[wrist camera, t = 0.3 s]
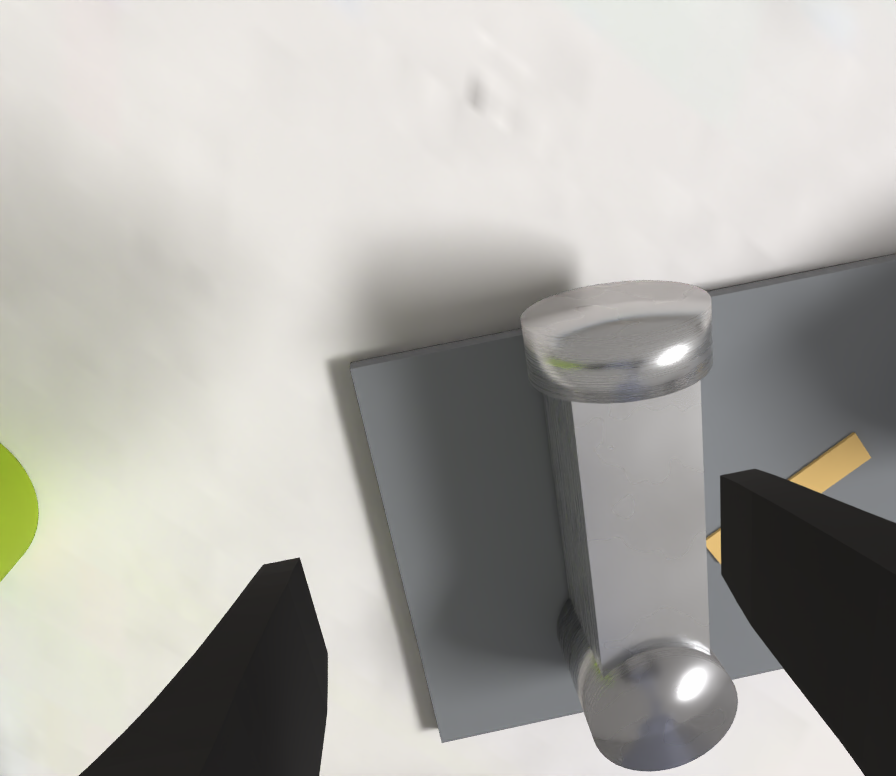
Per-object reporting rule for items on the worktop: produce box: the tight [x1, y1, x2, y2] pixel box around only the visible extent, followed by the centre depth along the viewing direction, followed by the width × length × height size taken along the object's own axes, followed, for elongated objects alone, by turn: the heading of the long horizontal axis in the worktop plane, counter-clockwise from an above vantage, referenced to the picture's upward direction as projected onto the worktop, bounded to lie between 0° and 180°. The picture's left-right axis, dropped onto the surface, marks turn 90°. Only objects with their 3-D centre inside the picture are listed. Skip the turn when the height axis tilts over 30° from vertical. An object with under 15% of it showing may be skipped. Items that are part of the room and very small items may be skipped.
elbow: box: [521, 280, 738, 771], centre depth 19 cm, size 14×5×5 cm, turn 10°
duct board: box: [350, 254, 896, 743], centre depth 20 cm, size 15×25×6 cm, turn 100°
